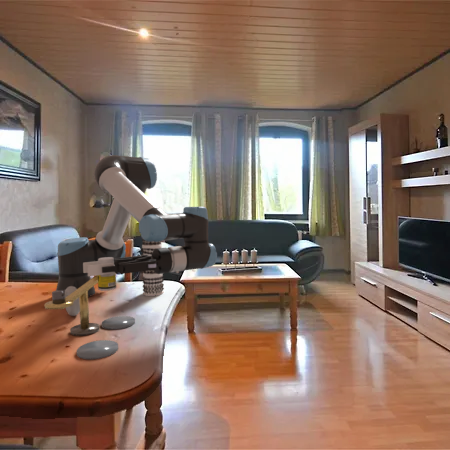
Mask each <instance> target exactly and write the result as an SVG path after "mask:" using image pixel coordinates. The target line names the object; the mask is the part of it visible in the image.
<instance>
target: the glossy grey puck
mask: <svg viewBox="0 0 450 450" xmlns="http://www.w3.org/2000/svg"><path fill="white" fill-rule="evenodd" d="M135 324H136V319H135V317H133V316H128V315H118V316H111V317H108V318H106V319H103V320H102V321H101V328H103V329H106V330H121V329H125V328H129V327H132V326H133V325H135Z"/></svg>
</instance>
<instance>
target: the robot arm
mask: <svg viewBox="0 0 450 450" xmlns="http://www.w3.org/2000/svg"><path fill="white" fill-rule="evenodd" d="M93 177H94V180H95V183H96V185H97V186H98V188H100V190H101V191H103V192H104V193H106V194H110V195H111V196H112V197H113V200H112V203H111V206H110V209H109V212H108V214H107V217H106V219H105V221H104V225H103V227H102V230H100V231H98V232H97V234H96V236H95V239H89V238H88V237H87V236H86V237H85V236H84V237H83V236H82V237H74V238H70V239H65V240H62V241H60V242H59V243H58V245H57V262H58V281H57V285H56V288H55V291H57V290H66V289H67V288H68V287H70V286H73V287H75V288H76V289H78V288H80V287H81V286H82V285H84V284H85V283H86V282H88V281H89V280H91V279H92V278H91V277H95V276H96V275H104V274H112V273H114V272H115V273H116V274H120V275H125V274H131V273H133V274H134V273H139V272H144V271H151V270H153V271H155V273H157V274H168V273H174V272H175V274H179V273H180V272H183V271H191V270H192V271H193V270H199V269H206V268H209V267H213V266H214V265H215V264H216V263H217V260H218V252H217V249H216V246H215V245H214V244H213V243H210V242H209V215H208V214H209V212H208V209H207V207H205V206H184V208H183V211H182V212H180V213H167V212H165V211H164V210H163V209H162V208H160V206H158V204H157V203H155V202H154V201H153V200H152V199H151V198H150V197H149V196H148V195H146V191H147V190H150V189H153V188H154V187H155V186H156V184H157V180H158V173H157V168H156V165H155V163H154V162H153V161H152V160H151V159H150V158H147V157H142V156H138V157H137V156H126V155H117V154H112V155H107V156H105V157H102V158H101V159H100V160H99V161H98V162H97V163H96V165H95V168H94V170H93ZM131 217H133V218H134V219H135V220H136V222H138V223H139V224H138V230H139V231H138V232H139V233H140V237H141V239H142V238H143V239H144V240H145V241H148V242H152V241H155V242H159V241H161V242H165V241H173V240H179V239H180V240H181V239H183V242H184V245H182V246H181V245H178V246H177V245H176V246H168V247H161V248H156V249H154V251H153V253H152V256H148V255H142V256H141V255H140V254H139V255H138V254H137V255H134V256H133V255H132V256H126V249H127V247H126V243H125V240H124V239H123V237H124V235H125V232H126V229H127V227H128V224H129V222H130V220H131ZM104 257H112V258H114V263H106V264H98V259H99V258H104ZM114 265H115V266H114ZM95 293H96V288H95V285H94V286H93V287H92V288H90V289H89V290H88V298H89V297H90V298H91V296H94V295H95Z"/></svg>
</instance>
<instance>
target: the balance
mask: <svg viewBox="0 0 450 450" xmlns="http://www.w3.org/2000/svg"><path fill="white" fill-rule="evenodd" d="M95 285H98V275H96V276H92V278H91V280H89V281H88V282H86V283H85V284H84V285H82V286H81V287H80V288H78V289H77V290H75V291H74V292H73V293H71V294H70V295H69V296H67V297H66V298H65V290H57V291H56V290H53V291H51V297H52V298H51V299H52V300H49V301H47V302H45V303H44V309H45V310H64V309H66V308H67V307H70V306H72V305H73V301H75V300H76V299H77V298H79V304H80V312H79V320H80V321H79V323H80V324H79V323H78V324H76V325H74V326H71V328H70V329H69V330H70V331H69V332H70V335H71V336H75V337H84V336H89V335H93V334H96V333H97V332H99V331H100V325H99V323H96V322H90V316H89V315H90V313H89V312H90V311H89V297H88V290H89V289H90V288H92V287H93V286H94V287H95Z"/></svg>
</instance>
